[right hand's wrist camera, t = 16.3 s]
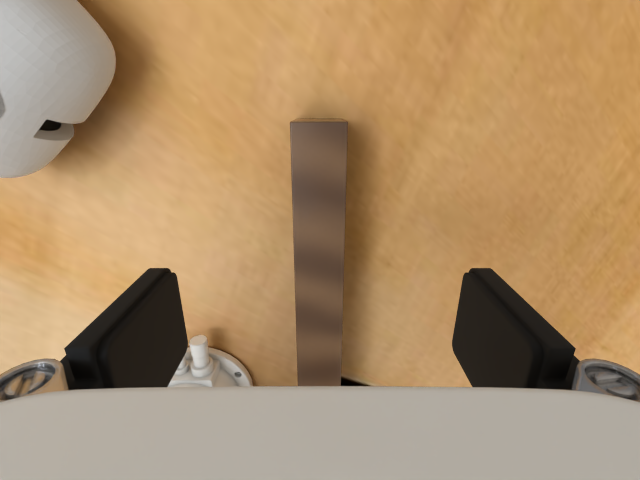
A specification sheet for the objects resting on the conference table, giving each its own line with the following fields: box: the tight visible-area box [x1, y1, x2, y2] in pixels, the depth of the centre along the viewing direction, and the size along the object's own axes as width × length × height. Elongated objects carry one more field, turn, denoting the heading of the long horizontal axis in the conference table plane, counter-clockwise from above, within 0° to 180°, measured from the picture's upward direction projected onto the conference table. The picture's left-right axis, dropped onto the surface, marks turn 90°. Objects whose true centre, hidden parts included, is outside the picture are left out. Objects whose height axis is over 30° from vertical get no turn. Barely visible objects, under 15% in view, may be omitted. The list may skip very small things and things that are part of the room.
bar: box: [290, 119, 348, 386], centre depth 43 cm, size 74×4×7 cm, turn 0°
